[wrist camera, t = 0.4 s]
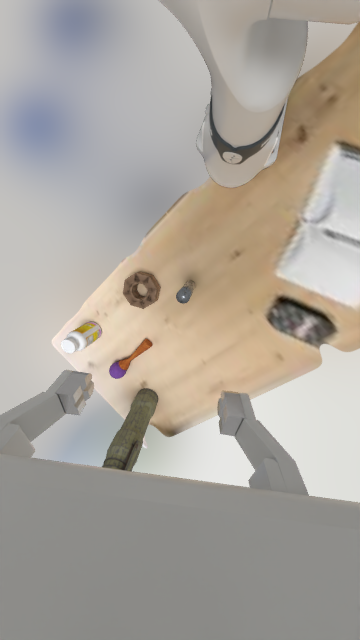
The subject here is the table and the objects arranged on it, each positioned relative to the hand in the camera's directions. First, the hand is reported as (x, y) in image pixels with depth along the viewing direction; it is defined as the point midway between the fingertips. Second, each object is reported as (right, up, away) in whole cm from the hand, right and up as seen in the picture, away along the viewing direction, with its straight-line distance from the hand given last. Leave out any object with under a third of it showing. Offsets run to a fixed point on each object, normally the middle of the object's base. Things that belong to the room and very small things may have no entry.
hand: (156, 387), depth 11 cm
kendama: (-16, -9, +55) cm, 58 cm away
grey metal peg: (+5, +15, +43) cm, 45 cm away
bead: (-10, +14, +45) cm, 48 cm away
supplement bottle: (-30, +1, +54) cm, 62 cm away
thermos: (-12, -27, +61) cm, 67 cm away
